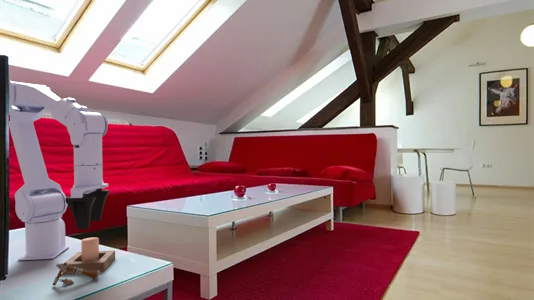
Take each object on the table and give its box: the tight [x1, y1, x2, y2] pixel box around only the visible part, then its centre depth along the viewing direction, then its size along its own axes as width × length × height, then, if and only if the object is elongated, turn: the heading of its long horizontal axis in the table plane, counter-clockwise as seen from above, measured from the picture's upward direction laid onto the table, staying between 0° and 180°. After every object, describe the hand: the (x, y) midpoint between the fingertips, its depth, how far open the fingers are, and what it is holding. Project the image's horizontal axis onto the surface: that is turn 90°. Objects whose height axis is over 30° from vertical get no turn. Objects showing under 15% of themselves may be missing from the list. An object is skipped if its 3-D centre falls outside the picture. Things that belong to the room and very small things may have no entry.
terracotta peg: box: [80, 237, 100, 261], centre depth 79 cm, size 4×4×6 cm
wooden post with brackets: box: [52, 261, 101, 286], centre depth 69 cm, size 2×8×4 cm, turn 118°
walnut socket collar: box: [61, 250, 116, 275], centre depth 79 cm, size 8×8×2 cm
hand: (89, 224), depth 78 cm, fingers open, 7 cm apart
